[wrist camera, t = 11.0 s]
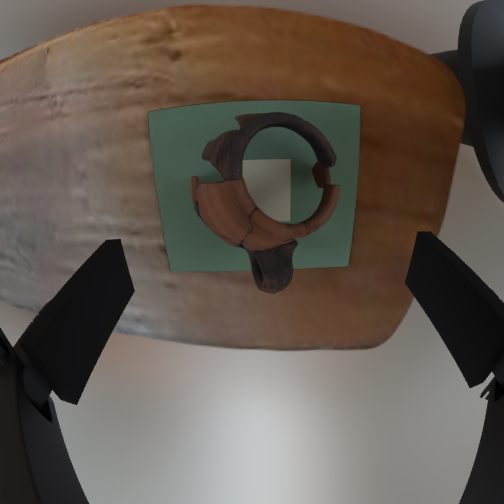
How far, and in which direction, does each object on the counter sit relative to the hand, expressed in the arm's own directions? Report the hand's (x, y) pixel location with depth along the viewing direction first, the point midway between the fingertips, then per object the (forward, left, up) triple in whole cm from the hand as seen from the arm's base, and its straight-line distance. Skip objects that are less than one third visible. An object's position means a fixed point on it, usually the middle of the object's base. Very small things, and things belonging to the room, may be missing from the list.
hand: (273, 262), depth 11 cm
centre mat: (0, 0, -11) cm, 11 cm away
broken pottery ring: (0, 0, -11) cm, 11 cm away
